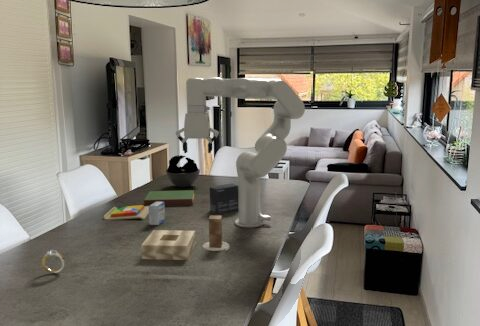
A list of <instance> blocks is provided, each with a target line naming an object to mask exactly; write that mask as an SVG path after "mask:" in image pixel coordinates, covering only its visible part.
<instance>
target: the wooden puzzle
mask: <svg viewBox="0 0 480 326" xmlns="http://www.w3.org/2000/svg"><path fill="white" fill-rule="evenodd" d="M147 216H149V206H144V204H140V205H139V204H138V205H130V206H129V205H128V206H127V205H126V206H118V207H117V206H114V207H112V208H111V209H110V210H109V211H108V212H106V213H105V214H104V215H103V219H104V220H105V221H113V220H114V221H115V220H116V221H119V220H131V219H132V220H133V219H141V220H145V219H146V218H147Z"/></svg>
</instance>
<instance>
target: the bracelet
mask: <svg viewBox="0 0 480 326" xmlns="http://www.w3.org/2000/svg"><path fill="white" fill-rule="evenodd" d="M50 256H56V257H58V258H59V259H60V262H61V266H60V268H59V269H57V270H56V269H53V270H52V269H50V268H49V267H48V266H47V264H46V259H47V258H49V257H50ZM65 262H66V260H65V257H64V255H62V254H61V253H60V252H58V250H55V249H50V250H48V251H46V254H44V256H43V257H42V259H41V264H42V267H43V268H44V270H45V271H46V272H48V273H50V274H53V273H55V274H57V273H60V272H61V271H62V270H63V269H64V268H65V264H66V263H65Z"/></svg>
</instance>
